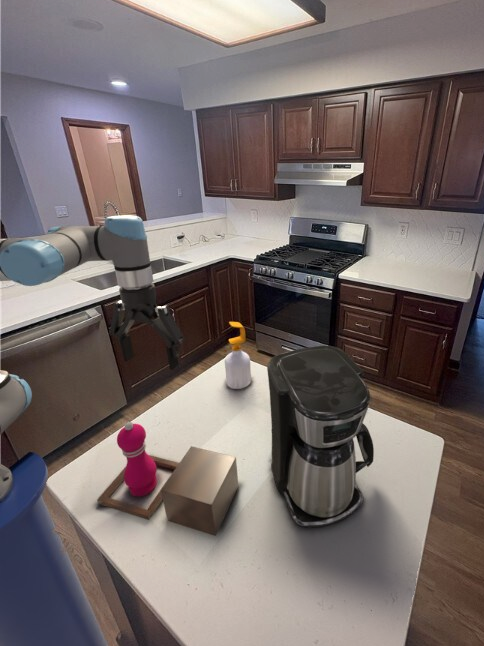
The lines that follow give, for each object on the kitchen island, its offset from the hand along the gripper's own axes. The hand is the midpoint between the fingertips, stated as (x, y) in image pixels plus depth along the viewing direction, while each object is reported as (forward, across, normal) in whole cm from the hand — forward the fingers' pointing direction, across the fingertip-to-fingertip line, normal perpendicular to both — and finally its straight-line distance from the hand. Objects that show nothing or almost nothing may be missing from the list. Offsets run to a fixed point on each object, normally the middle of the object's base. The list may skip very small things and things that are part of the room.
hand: (151, 362), depth 80 cm
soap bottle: (+27, -9, -32) cm, 42 cm away
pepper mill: (+27, -3, +13) cm, 30 cm away
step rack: (+27, -11, +13) cm, 32 cm away
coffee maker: (+27, -44, -4) cm, 52 cm away
